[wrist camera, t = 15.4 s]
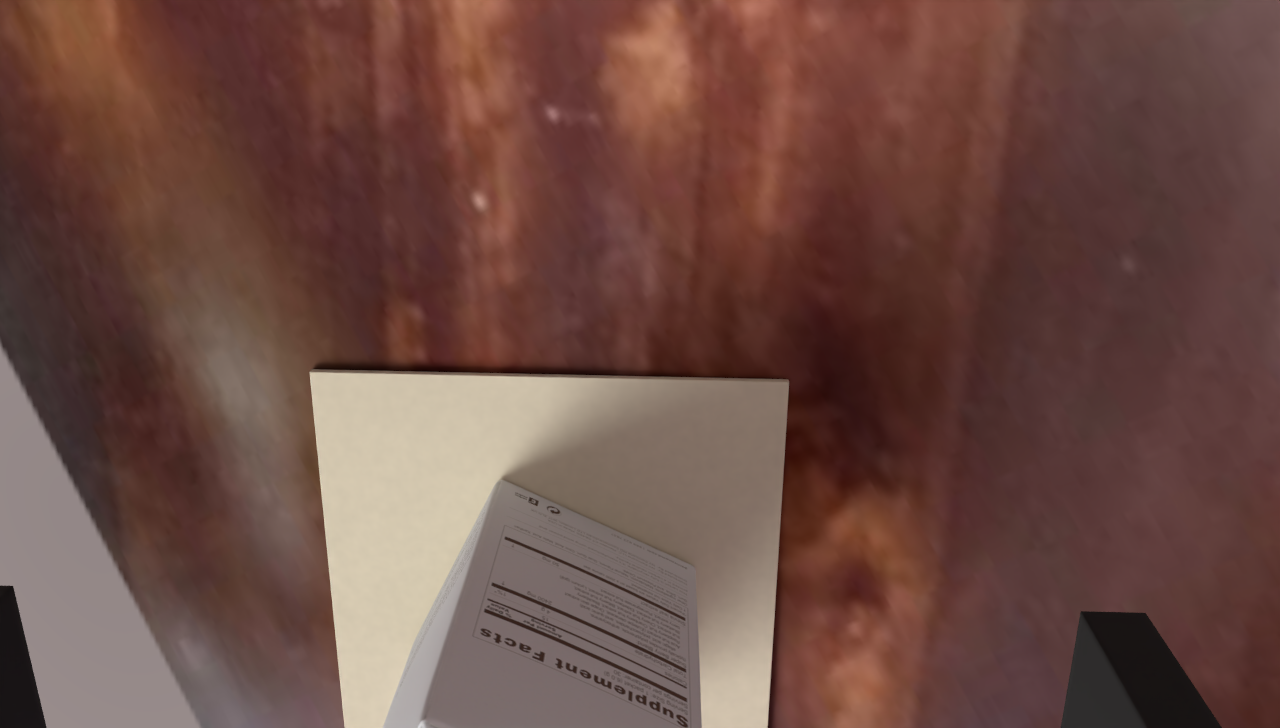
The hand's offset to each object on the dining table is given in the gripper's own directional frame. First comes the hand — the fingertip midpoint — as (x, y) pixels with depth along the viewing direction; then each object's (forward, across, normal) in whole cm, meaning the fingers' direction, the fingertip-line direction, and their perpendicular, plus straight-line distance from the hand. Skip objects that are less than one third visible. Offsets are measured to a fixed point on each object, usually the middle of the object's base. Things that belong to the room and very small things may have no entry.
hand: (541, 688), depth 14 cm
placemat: (+27, -3, -17) cm, 32 cm away
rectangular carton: (+27, -3, -17) cm, 32 cm away
